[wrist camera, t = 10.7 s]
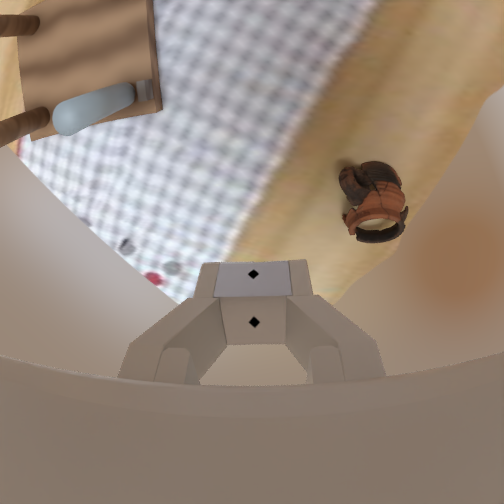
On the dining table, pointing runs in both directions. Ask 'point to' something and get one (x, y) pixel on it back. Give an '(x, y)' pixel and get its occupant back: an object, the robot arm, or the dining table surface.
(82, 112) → the hinged leg
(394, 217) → the pottery mug
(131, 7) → the stool seat
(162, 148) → the dining table surface
